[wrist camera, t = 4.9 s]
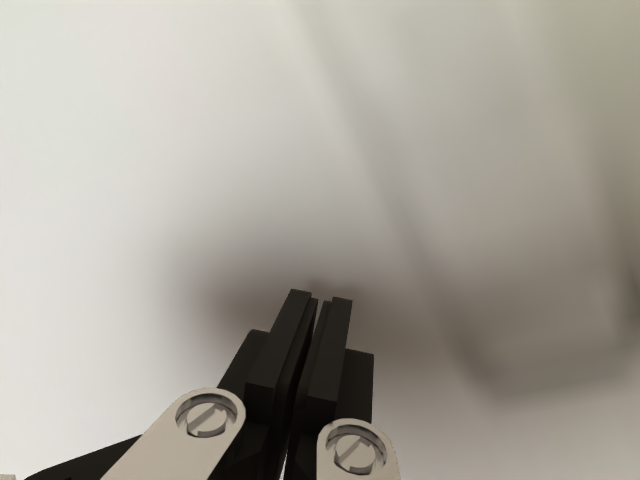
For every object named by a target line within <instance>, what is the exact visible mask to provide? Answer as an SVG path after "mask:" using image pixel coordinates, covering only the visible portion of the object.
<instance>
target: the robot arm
mask: <svg viewBox="0 0 640 480" xmlns="http://www.w3.org/2000/svg"><path fill="white" fill-rule="evenodd" d="M352 302H353V300H347V299H342V298H337V297H333V298H332V302H330V301H325V300H324V302H323V306H322V309H321V312H320V316H319V319H318V322H317V326H316V329H315V332H314V336H313V331H314V324H315V318H316V311H317V305H318V299H315V298H311V292H306V291H301V290H296V289H291V290H290V292H289V294H288V297H287V299H286V301H285V303H284V305H283V307H282V309H281V311H280V313H279V315H278V317H277V319H276V321H275V323H274V325H273V327H272V329H271V331H270V333H268V332H263V331H259V330H254V329H252V330H251V331H250V332H249V333H248V335H247V337H246V339H245V340H244V342H243V344H242V345H241V347H240V349H239V350H238V352H237V354H236V356H235V357H234V359H233V361H232V362H231V364H230V366H229V368H228V369H227V371H226V373H225V374H224V376H223V378H222V379H221V381H220V383H219V385H218V386H217V388H203V389H198V390H193V391H191V392H189V393H186V394H184V395H182V396H181V397H180V398H178V399H177V400H176V401H175V402H174V403H173V404H172V405H171V406H170V407H169V408H168V409H167V410H166V411H165V412H164V413H163V414H162V415H161V416H160V417H159V418H158V419H157V420H156V421H155V422H154V423H153V425H152V426H151V427H150V428H149V429H148V430H147V431H146V432H145V433H144V434H142V435H139V436H136V437H133V438H131V439H128V440H125V441H122V442H119V443H117V444H114V445H111V446H108V447H105V448H103V449H100V450H97V451H94V452H92V453H89V454H86V455H83V456H80V457H78V458H75V459H72V460H69V461H67V462H64V463H61V464H58V465H55V466H53V467H50V468H47V469H44V470H42V471H40V472H38V473H36V474H33V475H31V476H29V477H27V478H26V479H24V480H279V479H280V475H281V472H282V468H283V464H284V461H285V457H286V454H287V458H286V465H285V471H284V478H283V480H401V478H400V473H399V468H398V463H397V459H396V454H395V451H394V448H393V446H392V443H391V441H390V440H389V439H388V438H387V436H386V435H385V434H384V433H383V432H382V431H381V430H379V429H378V428H377V427H375V426H374V425H372V424H371V420H372V393H373V366H374V355H373V354H370V353H365V352H360V351H356V350H351V349H346V348H345V347H346V340H347V334H348V327H349V321H350V315H351V308H352ZM312 337H313V339H312ZM287 450H288V451H287ZM0 480H16V477H15V475H4V474H0Z"/></svg>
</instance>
